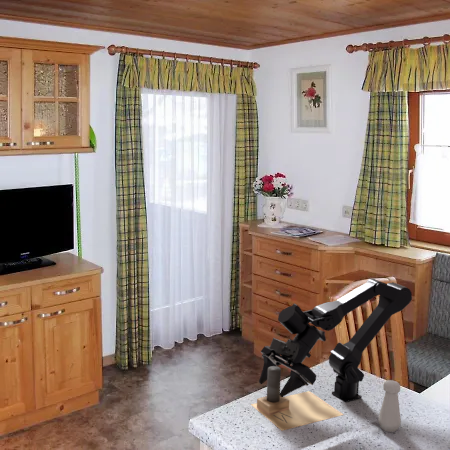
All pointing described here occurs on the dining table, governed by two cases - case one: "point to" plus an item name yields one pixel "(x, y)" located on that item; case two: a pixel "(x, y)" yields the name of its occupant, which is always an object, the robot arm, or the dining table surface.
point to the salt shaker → (390, 407)
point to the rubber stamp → (273, 394)
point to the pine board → (301, 411)
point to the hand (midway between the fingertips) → (270, 389)
